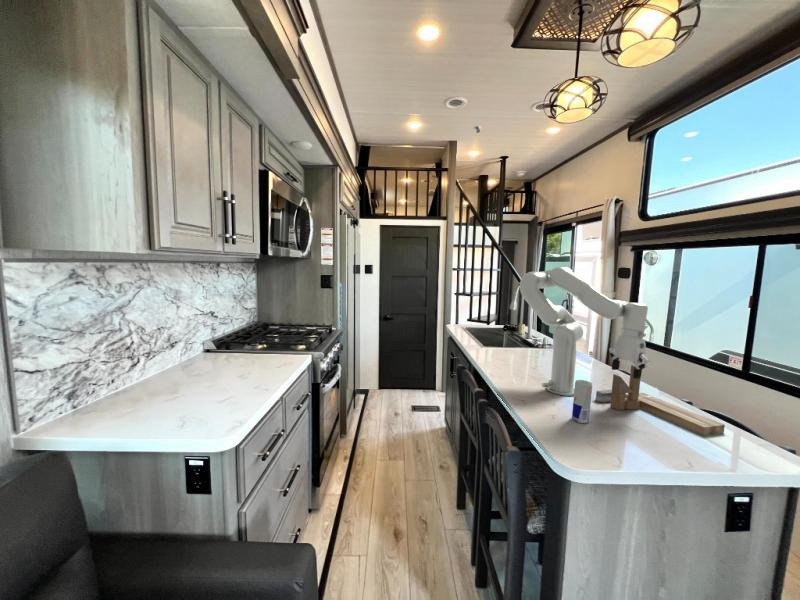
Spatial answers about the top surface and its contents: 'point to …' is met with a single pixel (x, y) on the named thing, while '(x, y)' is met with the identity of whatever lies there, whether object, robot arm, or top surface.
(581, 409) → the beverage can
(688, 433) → the top surface
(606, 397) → the metal block
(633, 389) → the wooden bracket
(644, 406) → the light brown wooden board
